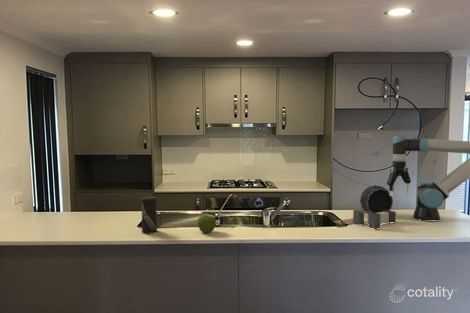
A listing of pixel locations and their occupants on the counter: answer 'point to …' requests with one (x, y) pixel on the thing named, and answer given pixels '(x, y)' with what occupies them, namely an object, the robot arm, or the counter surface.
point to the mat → (348, 221)
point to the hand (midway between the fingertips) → (398, 194)
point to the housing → (373, 218)
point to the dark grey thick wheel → (376, 199)
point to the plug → (386, 216)
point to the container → (149, 214)
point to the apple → (206, 223)
